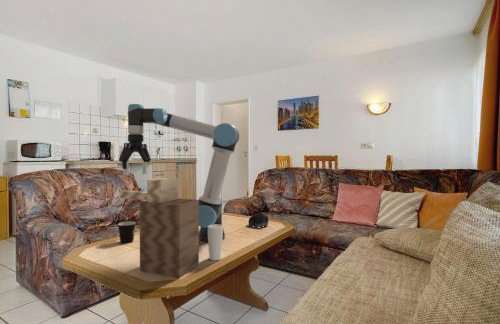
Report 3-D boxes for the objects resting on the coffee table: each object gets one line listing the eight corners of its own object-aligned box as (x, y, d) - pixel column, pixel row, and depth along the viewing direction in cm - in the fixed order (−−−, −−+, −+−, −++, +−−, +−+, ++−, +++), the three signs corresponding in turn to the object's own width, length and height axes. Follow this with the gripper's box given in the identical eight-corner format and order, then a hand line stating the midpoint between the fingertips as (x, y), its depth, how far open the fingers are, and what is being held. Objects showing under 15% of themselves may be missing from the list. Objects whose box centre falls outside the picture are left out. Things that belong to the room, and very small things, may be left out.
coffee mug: (129, 244, 145) (129, 225, 145) (114, 243, 147) (114, 224, 146) (141, 238, 156) (141, 220, 156) (128, 237, 158) (128, 219, 158)
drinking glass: (208, 256, 129) (208, 224, 129) (222, 256, 130) (222, 224, 129) (207, 261, 122) (207, 228, 122) (222, 261, 123) (222, 227, 123)
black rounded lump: (246, 224, 192) (245, 210, 191) (265, 222, 195) (264, 208, 194) (250, 231, 179) (249, 216, 178) (270, 228, 182) (269, 214, 180)
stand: (139, 270, 112) (139, 202, 112) (162, 258, 125) (162, 197, 125) (179, 278, 106) (179, 205, 105) (198, 264, 119) (198, 199, 118)
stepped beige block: (113, 199, 119) (113, 178, 118) (132, 195, 129) (132, 176, 129) (161, 203, 110) (161, 180, 110) (177, 199, 120) (177, 178, 120)
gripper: (146, 136, 158) (146, 173, 159) (110, 132, 135) (110, 175, 135) (157, 135, 155) (157, 173, 156) (122, 132, 132) (122, 176, 133)
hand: (135, 174), depth 146 cm, fingers open, 13 cm apart
